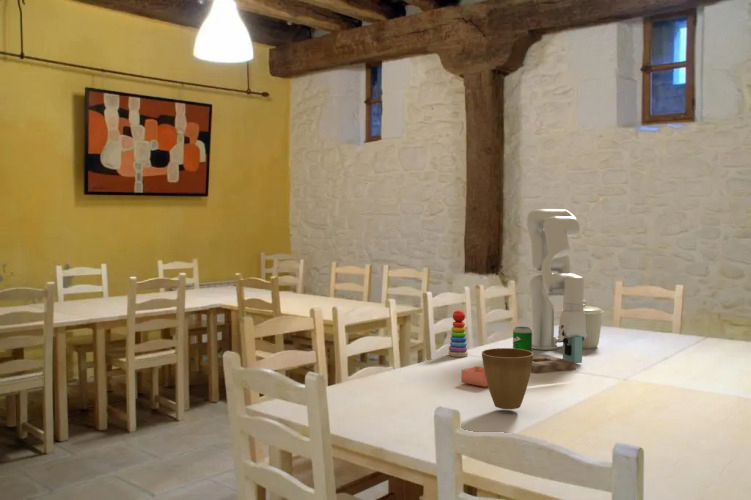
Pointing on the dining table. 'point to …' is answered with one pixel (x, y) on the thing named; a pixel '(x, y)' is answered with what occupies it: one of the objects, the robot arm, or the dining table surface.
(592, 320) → the canister
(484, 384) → the pottery
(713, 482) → the dining table surface
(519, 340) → the soda can
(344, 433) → the dining table surface
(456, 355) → the stacking toy
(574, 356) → the teal block
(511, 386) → the plant pot
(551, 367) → the walnut board
